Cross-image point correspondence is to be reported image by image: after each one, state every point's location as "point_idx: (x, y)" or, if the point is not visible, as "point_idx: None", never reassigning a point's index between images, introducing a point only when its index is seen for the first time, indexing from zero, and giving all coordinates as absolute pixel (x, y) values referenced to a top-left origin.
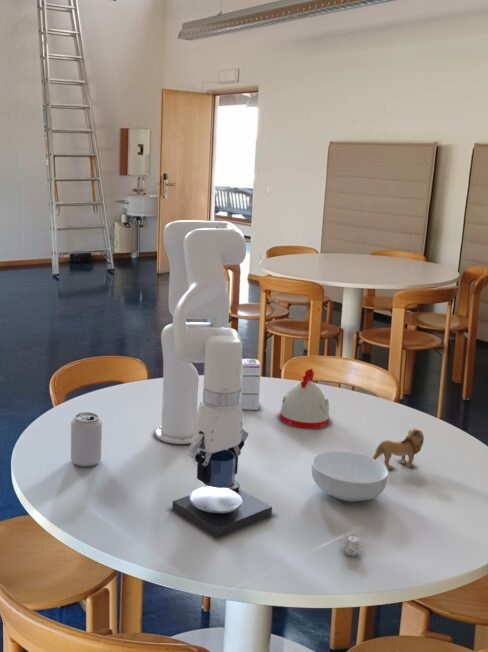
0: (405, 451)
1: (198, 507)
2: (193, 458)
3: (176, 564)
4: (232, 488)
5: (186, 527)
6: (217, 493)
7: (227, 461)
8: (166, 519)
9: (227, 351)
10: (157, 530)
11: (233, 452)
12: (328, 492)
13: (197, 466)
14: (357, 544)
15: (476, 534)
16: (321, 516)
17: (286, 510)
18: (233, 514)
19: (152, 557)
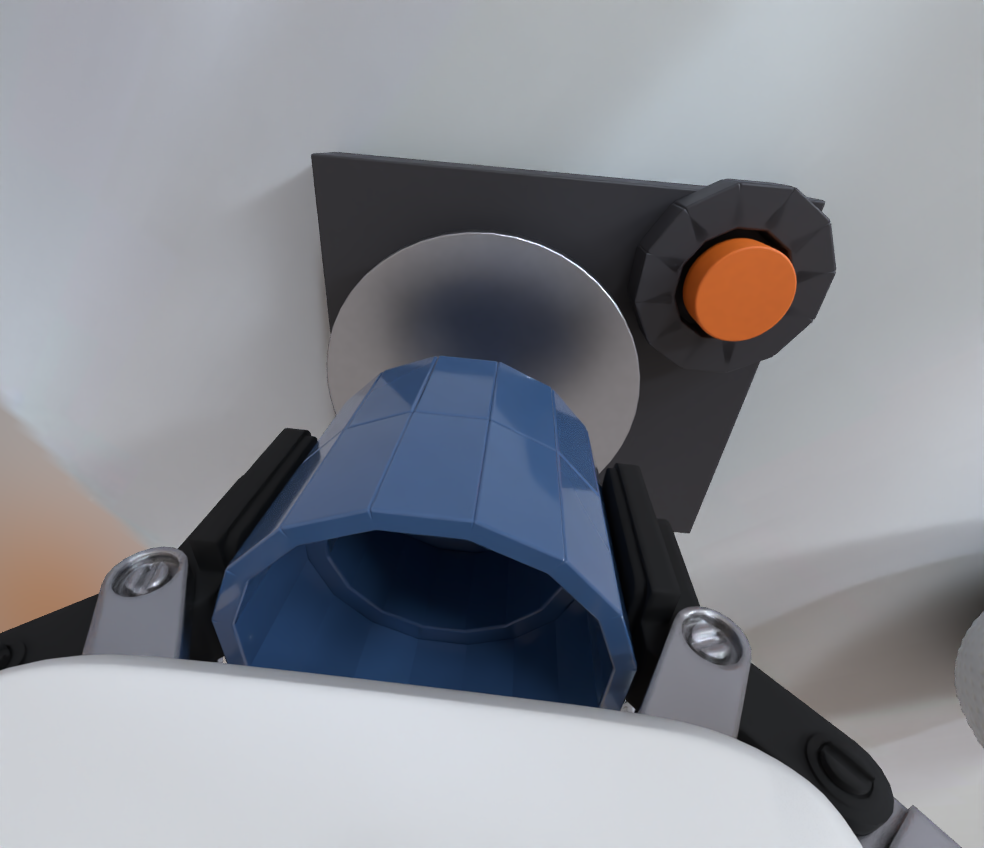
0: None
1: (332, 394)
2: (30, 624)
3: (135, 480)
4: (689, 360)
5: (301, 339)
6: (536, 366)
7: None
8: (249, 215)
9: None
10: (157, 269)
11: (634, 701)
12: (976, 627)
13: (226, 496)
14: None
15: (938, 818)
16: (802, 604)
17: (768, 516)
18: None
19: (63, 404)
